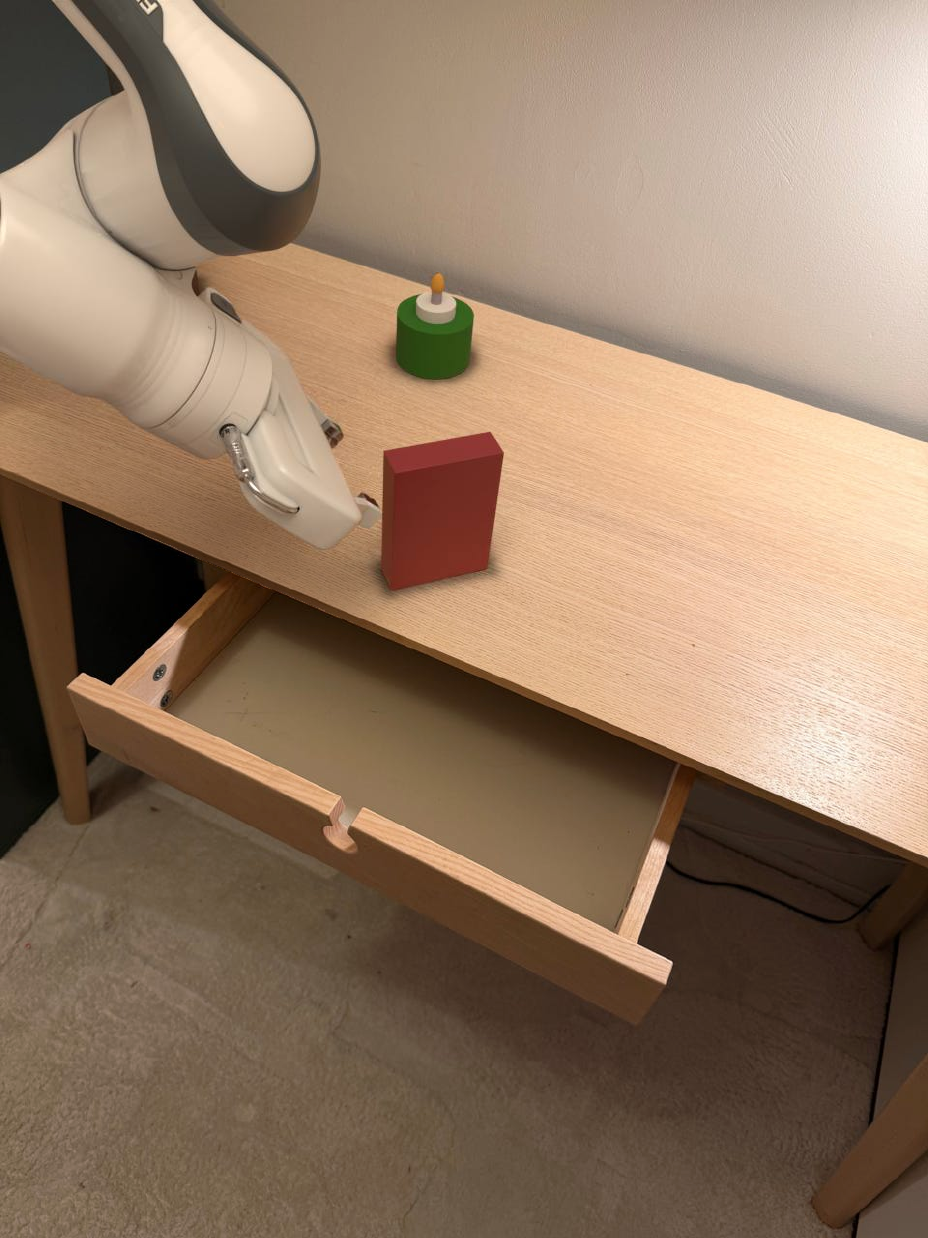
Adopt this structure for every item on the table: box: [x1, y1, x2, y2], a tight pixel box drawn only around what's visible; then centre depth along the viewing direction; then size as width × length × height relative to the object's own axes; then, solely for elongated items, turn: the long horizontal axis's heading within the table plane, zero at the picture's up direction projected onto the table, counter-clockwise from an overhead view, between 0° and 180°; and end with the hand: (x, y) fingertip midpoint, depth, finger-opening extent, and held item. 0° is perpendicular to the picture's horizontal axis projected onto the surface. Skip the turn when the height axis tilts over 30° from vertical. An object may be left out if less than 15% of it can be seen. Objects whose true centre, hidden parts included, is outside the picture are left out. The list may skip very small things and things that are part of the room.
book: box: [380, 431, 505, 591], centre depth 75 cm, size 9×3×13 cm, turn 112°
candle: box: [395, 272, 475, 380], centre depth 98 cm, size 8×8×10 cm
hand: (354, 475), depth 69 cm, fingers open, 8 cm apart
